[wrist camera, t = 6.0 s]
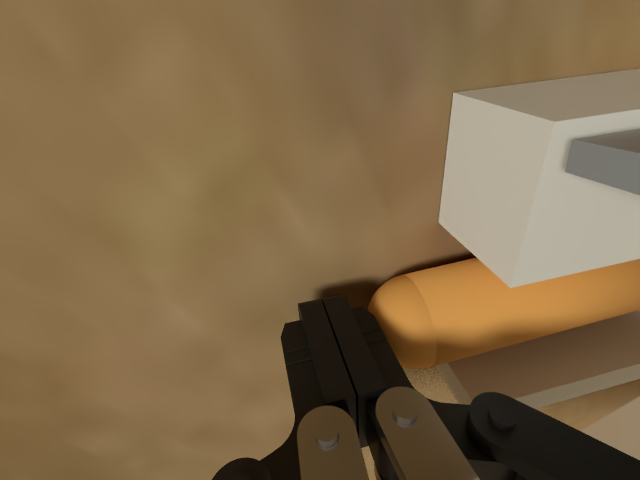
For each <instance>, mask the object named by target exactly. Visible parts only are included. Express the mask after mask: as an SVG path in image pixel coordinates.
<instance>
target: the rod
mask: <svg viewBox="0 0 640 480" xmlns="http://www.w3.org/2000/svg"><path fill="white" fill-rule="evenodd" d="M638 310H640V259H636V260H632V261H627V262H623V263H619V264H614V265H610V266H605V267H601V268H597V269H592V270H588V271H583V272H579V273H575V274H570V275H566V276H561V277H557V278H553V279H548V280H544V281H539V282H535V283H531V284H526V285H522V286H517V287H513V288H510V287H508V286H507V285H506V284H505V283H504V282H503V281H502V280H501V279H500V278H499V277H498V276H496V275H495V274H494V273H493V272H492V271H491V270H490V269H489V268H488V267H487V266H485V265H484V264H483V263H482V262H481V261H480V260H479V259H478V258H477V257H476V258H472V259H468V260H464V261H459V262H455V263H451V264H446V265H442V266H438V267H434V268H429V269H425V270H421V271H416V272H412V273H408V274H403V275H400V276H397V277H394V278H392V279H390V280H388V281H387V282H385V283H384V284H383V285H382V286H381V287H380V288H378V289H377V291H376V292H375V294H374V295H373V296H372V299H371V301H370V304H369V306H368V311H369V312H370V313H371V314H373V315H374V316H375V318H376V319H377V321H378V323H379V325H380V327H381V329H382V331H383V333H384V335H385V336H386V338H387V342H389V344H390V346H391V348H392V350H393V352H394V353H395V355H396V357H397V359H398V361H399V363H400V365H401V366H402V367H406V368H411V369H424V368H430V367H434V366H437V365H441V364H445V363H448V362H452V361H456V360H459V359H463V358H467V357H470V356H474V355H477V354H481V353H485V352H488V351H492V350H496V349H499V348H503V347H507V346H510V345H514V344H518V343H521V342H525V341H528V340H532V339H536V338H539V337H543V336H547V335H550V334H554V333H558V332H561V331H565V330H569V329H572V328H576V327H579V326H583V325H587V324H590V323H594V322H598V321H601V320H605V319H609V318H612V317H616V316H620V315H623V314H627V313H630V312H634V311H638Z"/></svg>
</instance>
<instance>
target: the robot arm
mask: <svg viewBox="0 0 640 480" xmlns="http://www.w3.org/2000/svg"><path fill="white" fill-rule="evenodd" d="M298 310H299V318H300V320H299V321H294V322H290V323H285V325H284V328H283V332H282V335H281V342H282V347H283V353H284V359H285V364H286V370H287V375H288V381H289V386H290V391H291V397H292V402H293V407H294V413H295V423H294V427H293V430H292V432H291V434H290V436H289V437H288V439H287V440H286V441H285V442H284V444H283V445H282V446H280V447H279V448H278V449H277V450H275V451H274V452H272V453H271V454H269V455H268V456H266V457H265V458H263V459H262V460H260V461H258V460H256V459H253V458H239V459H236V460H233V461H231V462H229V463H228V464H226V465H225V466H223V467H222V468H221V469H220V470H219V471H218V472H217V473H216V475H215V476H214V477H213V479H212V480H369V478H368V474H367V470H366V466H365V462H364V458H363V454H362V450H361V448H363V447H366V446H369V448H370V451H371V454H372V457H373V460H374V472H375V477H376V479H377V480H640V460H637V459H636V458H634V457H631V456H629V455H627V454H625V453H623V452H621V451H619V450H617V449H615V448H613V447H611V446H609V445H607V444H605V443H603V442H601V441H599V440H597V439H595V438H593V437H591V436H589V435H586V434H585V433H583V432H581V431H579V430H577V429H575V428H573V427H570V426H568V425H566V424H564V423H562V422H560V421H558V420H556V419H554V418H552V417H550V416H548V415H546V414H544V413H542V412H540V411H538V410H536V409H534V408H532V407H530V406H528V405H526V404H524V403H522V402H520V401H518V400H516V399H514V398H511V397H509V396H507V395H505V394H501V393H497V392H485V393H481V394H479V395H477V396H476V397H475V398H474V399H473V400H472V402H471V404H470V405H466V404H450V403H440V402H436V401H433V400H430V399H428V398H426V397H425V396H424V395H422V394H421V393H420V392H418V391H416V390H415V389H414V387H413V386H412V385H411V383H410V382H409V380H408V378H407V376H406V374H405V372H404V370H403V369H402V367H401V365H400V363H399V361H398V359H397V357H396V355H395V353H394V352H393V350H392V348H391V346H390V344H389V342H387V338H386V336H385V335H384V333H383V331H382V329H381V327H380V325H379V323H378V321H377V319H376V318H375V316H374V315H373V314H371V313H370V312H369V311H368V310H367V309H365V308H364V307H358V308H353V309H351V308H350V306H349V304H348V301H347V299H346V297H345V295H344V294H341V295H336V296H331V297H327V298H322V299H321V300H320V299H318V300H313V301H308V302H303V303H298Z"/></svg>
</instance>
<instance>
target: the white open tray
mask: <svg viewBox="0 0 640 480" xmlns="http://www.w3.org/2000/svg"><path fill="white" fill-rule="evenodd" d="M633 129H640V69H633V70H625V71H618V72H610V73H602V74H594V75H587V76H579V77H571V78H563V79H556V80H548V81H540V82H533V83H525V84H517V85H509V86H502V87H494V88H486V89H479V90H471V91H463V92H455V93H453V101H452V110H451V119H450V127H449V136H448V145H447V153H446V162H445V171H444V179H443V188H442V197H441V205H440V214H439V223H440V224H441V225H442V226H443V227H444V228H445V229H446V230H447V231H448V232H449V233H450V234H452V235H453V236H454V237H455V238H456V239H457V240H458V241H459V242H460V243H461V244H463V245H464V246H465V247H466V248H467V249H468V250H469V251H470V252H471V253H472V254H473V255H475V256H476V257H477V258H478V259H479V260H480V261H481V262H482V263H483V264H484V265H485V266H487V267H488V268H489V269H490V270H491V271H492V272H493V273H494V274H495V275H496V276H498V277H499V278H500V279H501V280H502V281H503V282H504V283H505V284H506V285H507V286H508V287H510V288H513V287H517V286H522V285H526V284H531V283H535V282H539V281H544V280H548V279H553V278H557V277H561V276H566V275H570V274H575V273H579V272H583V271H588V270H592V269H597V268H601V267H605V266H610V265H614V264H619V263H623V262H627V261H632V260H636V259H640V195H637V194H633V193H630V192H627V191H624V190H621V189H618V188H614V187H611V186H608V185H605V184H602V183H598V182H595V181H592V180H589V179H586V178H582V177H579V176H576V175H573V174H570V173H566V172H565V170H566V165H567V161H568V156H569V152H570V147H571V143H572V139H577V138H583V137H590V136H596V135H602V134H608V133H615V132H621V131H627V130H633ZM436 368H437V370H438V371H439V373H440V374H441V376H442V378H443V379H444V381H445V383H446V384H447V386H448V387H449V389H450V391H451V392H452V394H453V395H454V397H455V399H456V400H457V402H458V403H459V404H466V405H470V404H471V402H472V400H473V399H474V398H475V397H476V396H477V395H479V394H481V393H485V392H497V393H501V394H505V395H507V396H509V397H511V398H514V399H516V400H518V401H520V402H522V403H524V404H526V405H528V406H530V407H532V408H534V409H537V408H540V407H544V406H547V405H551V404H554V403H558V402H561V401H565V400H568V399H572V398H575V397H578V396H582V395H585V394H589V393H592V392H596V391H599V390H603V389H606V388H610V387H613V386H617V385H620V384H623V383H627V382H630V381H634V380H637V379H640V310H638V311H634V312H630V313H627V314H623V315H620V316H616V317H612V318H609V319H605V320H601V321H598V322H594V323H590V324H587V325H583V326H579V327H576V328H572V329H569V330H565V331H561V332H558V333H554V334H550V335H547V336H543V337H539V338H536V339H532V340H528V341H525V342H521V343H518V344H514V345H510V346H507V347H503V348H499V349H496V350H492V351H488V352H485V353H481V354H477V355H474V356H470V357H467V358H463V359H459V360H456V361H452V362H448V363H445V364H441V365H437V366H436Z"/></svg>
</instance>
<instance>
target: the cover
mask: <svg viewBox="0 0 640 480" xmlns="http://www.w3.org/2000/svg"><path fill="white" fill-rule="evenodd" d="M565 172H566V173H570V174H573V175H576V176H579V177H582V178H586V179H589V180H592V181H595V182H598V183H602V184H605V185H608V186H611V187H614V188H618V189H621V190H624V191H627V192H630V193H633V194H637V195H640V129H633V130H627V131H621V132H615V133H608V134H602V135H596V136H590V137H583V138H577V139H572V143H571V147H570V152H569V156H568V161H567V165H566V170H565Z"/></svg>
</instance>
